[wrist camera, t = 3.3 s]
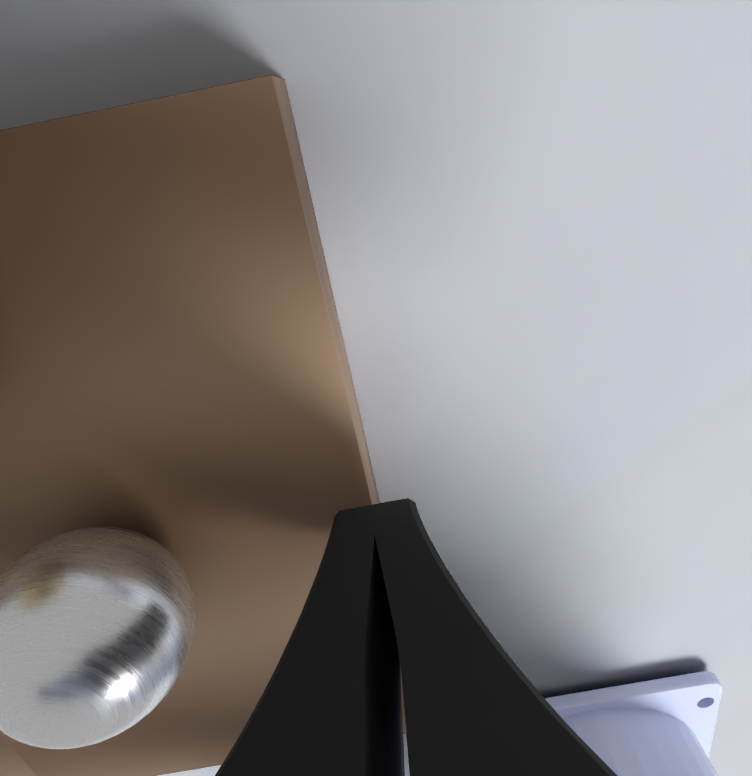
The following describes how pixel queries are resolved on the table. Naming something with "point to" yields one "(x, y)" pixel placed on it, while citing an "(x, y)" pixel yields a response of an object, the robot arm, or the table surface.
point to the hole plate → (176, 385)
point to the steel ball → (90, 636)
